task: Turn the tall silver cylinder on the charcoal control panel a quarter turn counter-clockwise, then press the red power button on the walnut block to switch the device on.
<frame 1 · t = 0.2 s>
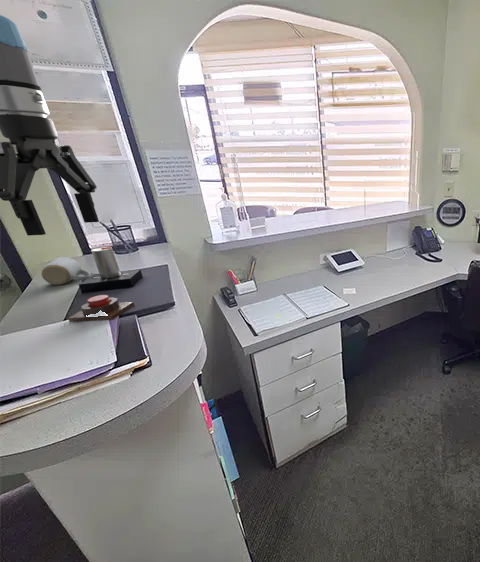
hand: (67, 228, 66), 24 cm above the table, tool pointing down, fingers open, 13 cm apart
dial panel: (114, 284, 100), on the table
power button: (99, 301, 77), point 4 cm above the table, slide at 0.1 cm
ceramic mug: (71, 281, 104), on the table
silver cylinder: (106, 262, 97), point 8 cm above the table, hinge at 0.0°
button block: (105, 317, 78), on the table
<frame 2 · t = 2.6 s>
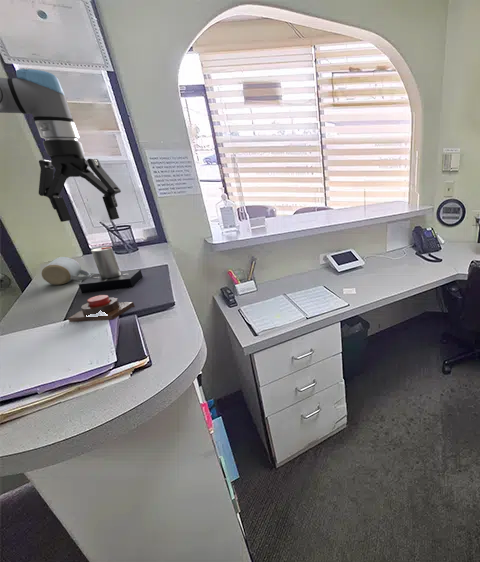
hand: (90, 220, 90), 21 cm above the table, tool pointing down, fingers open, 13 cm apart
nothing on the table moved.
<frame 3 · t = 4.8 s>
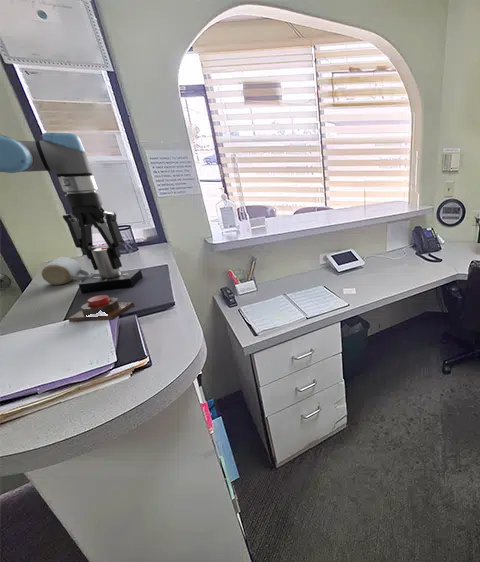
hand: (108, 268, 98), 6 cm above the table, tool pointing down, fingers closed on silver cylinder, 5 cm apart
silver cylinder: (106, 262, 97), point 8 cm above the table, hinge at 0.0°, touching gripper
everything else where it was.
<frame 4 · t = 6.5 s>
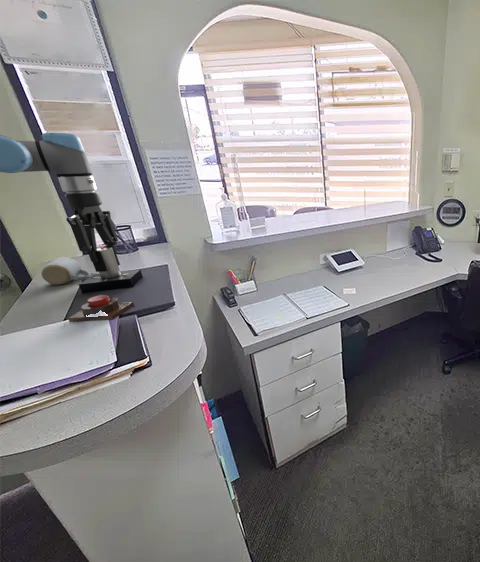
hand: (108, 268, 98), 6 cm above the table, tool pointing down, fingers closed on silver cylinder, 5 cm apart
silver cylinder: (106, 262, 97), point 8 cm above the table, hinge at 90.7°, touching gripper
everything else where it was.
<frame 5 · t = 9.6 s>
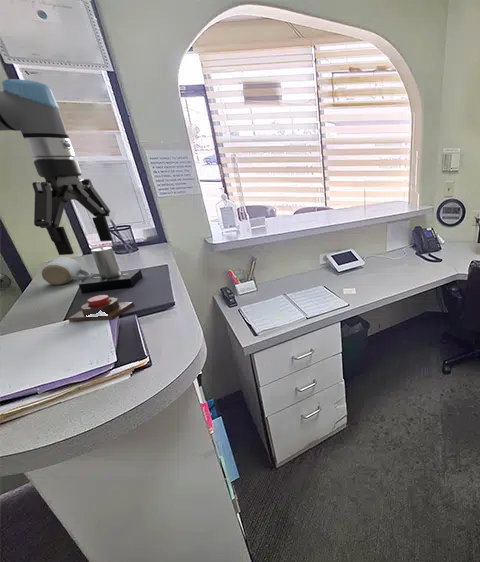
hand: (88, 247, 80), 16 cm above the table, tool pointing down, fingers open, 13 cm apart
silver cylinder: (106, 262, 97), point 8 cm above the table, hinge at 91.0°
everything else where it was.
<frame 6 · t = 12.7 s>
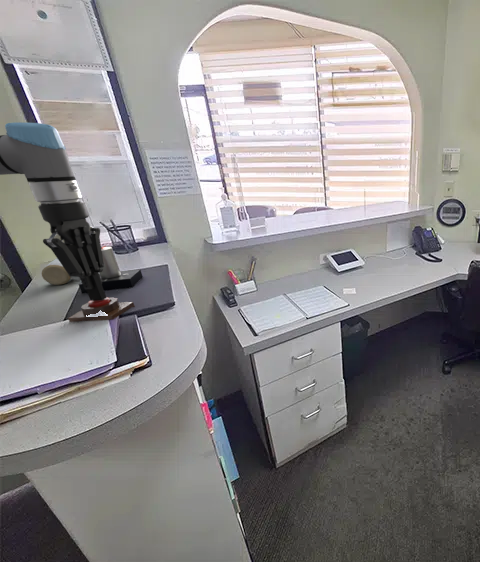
hand: (98, 299, 76), 5 cm above the table, tool pointing down, fingers closed
power button: (99, 303, 77), point 4 cm above the table, slide at -0.5 cm, touching gripper
everything else where it was.
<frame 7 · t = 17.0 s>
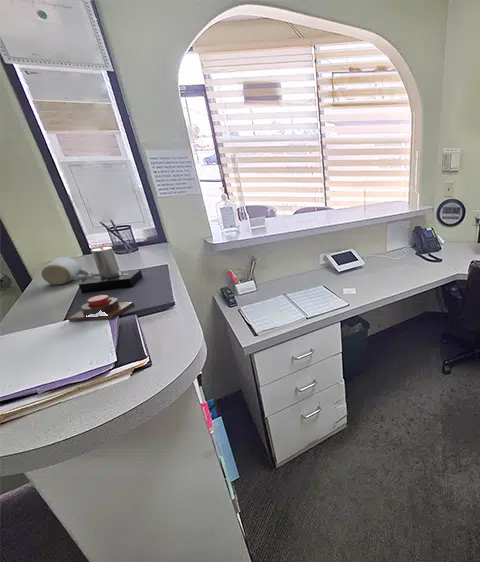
power button: (99, 301, 77), point 4 cm above the table, slide at 0.1 cm
everything else where it was.
at the end: silver cylinder at +91° (first picture: +0°); power button pushed in 1.0 cm at the most during the clip, back to where it started at the end; power button slide at 0.1 cm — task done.
